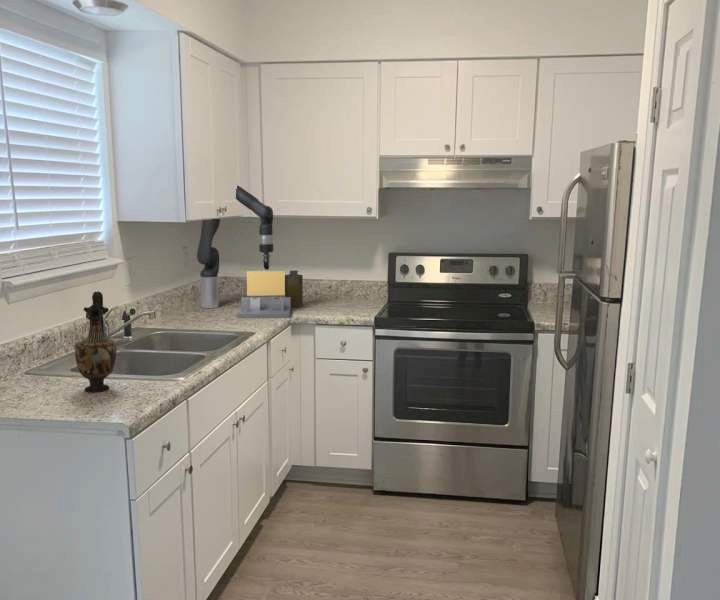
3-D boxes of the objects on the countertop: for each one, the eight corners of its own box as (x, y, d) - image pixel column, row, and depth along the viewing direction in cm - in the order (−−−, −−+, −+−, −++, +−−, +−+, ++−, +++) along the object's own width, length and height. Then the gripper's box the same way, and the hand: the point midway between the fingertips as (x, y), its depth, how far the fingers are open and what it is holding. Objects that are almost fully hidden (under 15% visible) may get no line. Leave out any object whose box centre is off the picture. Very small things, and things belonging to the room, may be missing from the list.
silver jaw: (251, 308, 321) (251, 297, 320) (260, 308, 321) (260, 297, 321) (250, 310, 316) (250, 299, 315) (260, 310, 317) (259, 299, 316)
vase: (71, 395, 182) (64, 296, 177) (86, 383, 194) (80, 290, 189) (111, 394, 183) (106, 296, 178) (124, 382, 195) (119, 290, 190)
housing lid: (247, 296, 323) (247, 296, 324) (284, 296, 325) (284, 296, 326) (246, 269, 323) (247, 269, 324) (284, 269, 325) (284, 269, 326)
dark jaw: (272, 308, 322) (272, 297, 321) (281, 308, 322) (281, 297, 321) (271, 310, 317) (271, 299, 316) (281, 310, 317) (281, 299, 316)
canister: (297, 303, 351) (297, 269, 348) (306, 306, 343) (306, 271, 340) (280, 305, 346) (280, 270, 342) (289, 308, 337) (288, 272, 334)
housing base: (241, 311, 325) (241, 295, 324) (290, 311, 327) (290, 295, 326) (237, 318, 306) (236, 301, 304) (289, 317, 308) (288, 301, 306)
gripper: (272, 244, 321) (272, 276, 324) (274, 242, 334) (274, 273, 337) (258, 244, 321) (258, 276, 323) (260, 242, 334) (260, 273, 337)
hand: (266, 275), depth 330 cm, fingers closed
